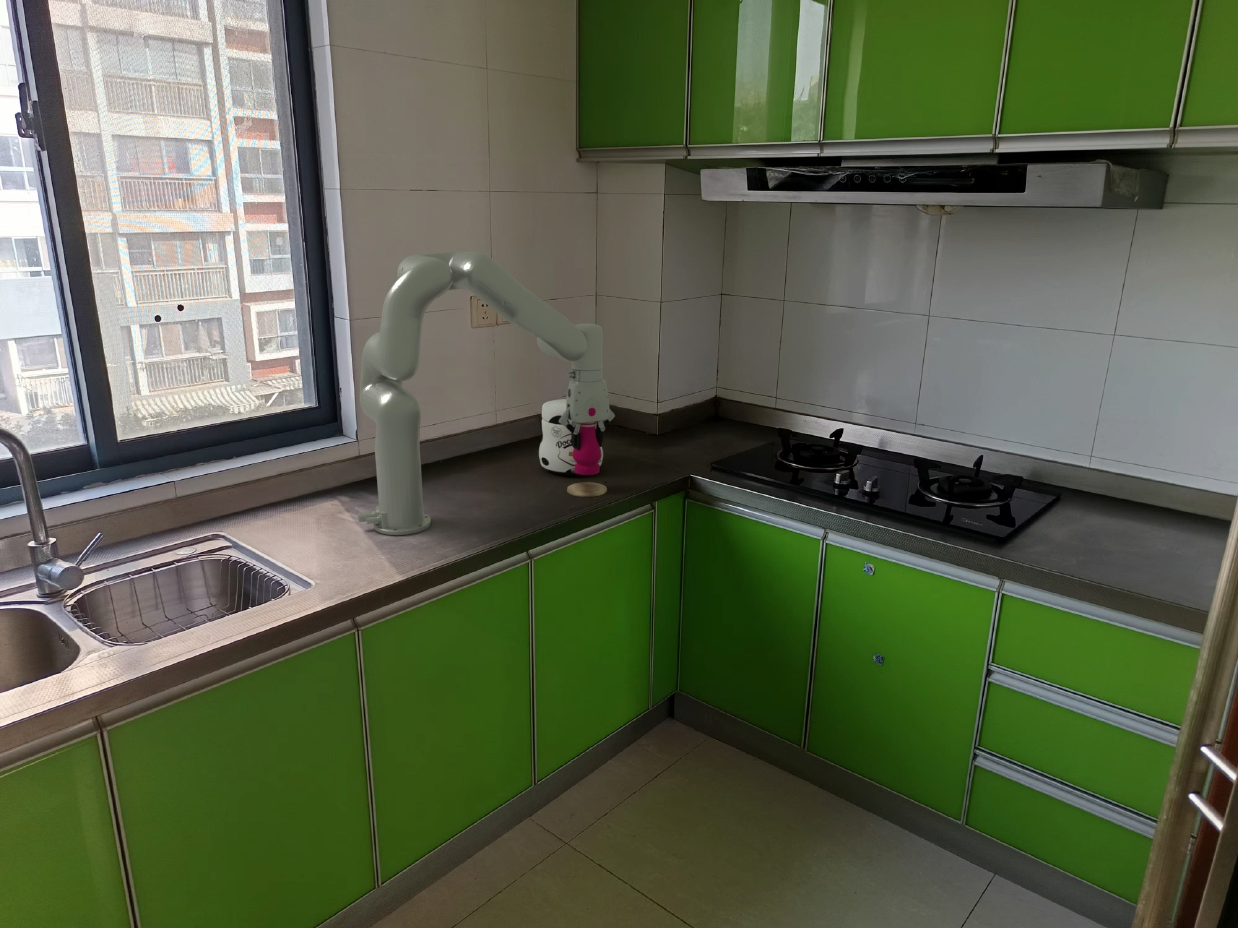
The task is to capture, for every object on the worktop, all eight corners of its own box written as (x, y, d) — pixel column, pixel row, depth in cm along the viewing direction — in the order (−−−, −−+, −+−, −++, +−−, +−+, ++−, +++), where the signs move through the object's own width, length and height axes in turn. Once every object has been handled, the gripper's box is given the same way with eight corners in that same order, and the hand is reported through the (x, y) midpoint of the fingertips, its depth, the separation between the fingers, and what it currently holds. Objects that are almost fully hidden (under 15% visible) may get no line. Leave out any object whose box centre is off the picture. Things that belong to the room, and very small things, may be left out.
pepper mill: (606, 470, 224) (607, 392, 218) (591, 477, 218) (591, 398, 212) (582, 465, 228) (582, 389, 222) (567, 472, 222) (566, 394, 216)
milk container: (575, 483, 230) (575, 416, 224) (525, 471, 240) (524, 406, 234) (615, 468, 243) (616, 404, 238) (567, 457, 253) (567, 395, 248)
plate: (577, 499, 218) (577, 496, 218) (560, 487, 226) (560, 485, 226) (613, 493, 222) (613, 491, 222) (595, 482, 231) (595, 479, 231)
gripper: (561, 381, 209) (562, 455, 214) (625, 375, 216) (624, 446, 222) (548, 375, 215) (549, 447, 220) (611, 369, 223) (610, 439, 228)
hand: (587, 446), depth 221 cm, fingers closed on pepper mill, 5 cm apart
